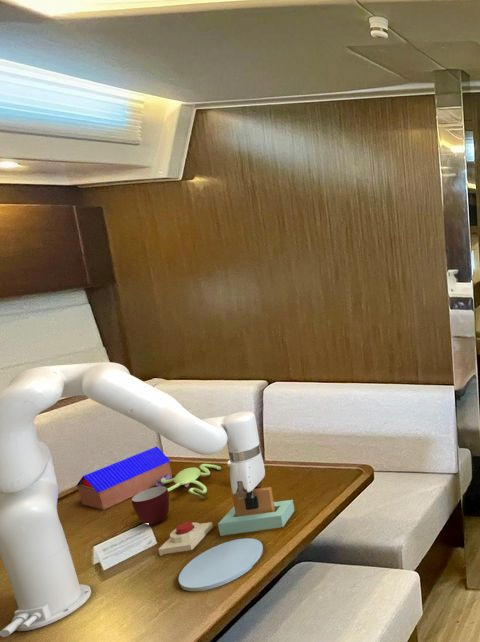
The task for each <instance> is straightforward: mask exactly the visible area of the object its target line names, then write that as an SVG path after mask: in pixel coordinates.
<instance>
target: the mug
mask: <svg viewBox="0 0 480 642" xmlns="http://www.w3.org/2000/svg"><path fill="white" fill-rule="evenodd" d="M167 488H168V487H167V486H165V485H164V486H159V487H158V486H153V487H151V488H149V489H147V490H144V491H142V492H140V493H138V494H136V495H134V496H132V497H131V504H132V508H133V510H134V512H135V513H136V515H137V517H138V519H139V520H140V521H141V522H142V523H143V524H145V523H149V527H153V526H156V525H159V524H162V523H163V522H164V521H165V520H166V518H167V516H168V513H169V510H170V493H169V492H168V489H167Z"/></svg>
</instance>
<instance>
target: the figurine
mask: <svg viewBox="0 0 480 642" xmlns="http://www.w3.org/2000/svg"><path fill="white" fill-rule="evenodd" d="M209 468H210V469H213V470H218V471H219V470H221V469H222V466H220V465H216V464H210V463H201V464H200V465H199V467H187V468H184V469H182V470H180V471H179V472H178V473H176V475H175V476H174V477H173V476H172V477H170V476H169V475H168V474H166V475H164V476H163V477H162V478H161V479H159V480H158V481H157V482H156V483H155V486H156V487H159V486H164V487H165V486H166V484H170V483H173V482H174V483H175V484H174V485H171V486H170V487H167V489H168V493H169V492H171V491H173V490H175V489H177V488H178V487H180V486H184V487H185V488H188V487H189V486H190V484H193V485H196V486H198V487H199V488H200V489H199V488H197V487H190V488H189V489H188V491H187V493H188V494H190V495H193V496H196V497H199V498H200V499H205V496H203V495H202V494H206V493H207V492H208V488H207V486H206V485H205V484H203V482H201V481H199V480H197V479H198V478H199V477H209V476H210V475H211V471H210V470H209ZM201 470H202V471H203V472H201ZM201 489H202V490H201Z"/></svg>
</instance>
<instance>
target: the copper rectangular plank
mask: <svg viewBox="0 0 480 642" xmlns="http://www.w3.org/2000/svg"><path fill="white" fill-rule="evenodd" d="M254 491H255V496H257V499H258V505H259V507H258V508H257V509H250V510H247V509H246V505H245V500H244V499H238V492H239V491H238V492H237V493H236V494H233V493H232V492H231V496H232V501H233V507H234V508H235V513H236V517H239V516H247V515H254V514H262V513H269V512H275V507H274V502H275V501H274V495H273V489H272V486H268V487H261V488H258V489H254ZM246 493H250V492H246Z"/></svg>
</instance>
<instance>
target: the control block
mask: <svg viewBox="0 0 480 642" xmlns="http://www.w3.org/2000/svg"><path fill="white" fill-rule="evenodd" d="M192 524H193V529H192V530H191V531H189V532H188V533H185V534H181V535H177V532H176V528H175V529H173V530H172V531H171V532H170V534H169V538H168V539H167V540H166V541H165V542H164V543H163V544H162V545H161V546H160V547H159V548H158V555H159V556H160V557H162V556H163V555H167V554H173V553H180V552H187V551H192V550H194V548H195V547H196V546H197V545H198V544H199V543H200V542H201V541H202V540H203V539H204V537H205V536H206V535H208V533H209V532H210V531H211V530H212V529H213V527H214V526H213V525H214V524H213V521H211V522H203V523H199V522H196V521H195V522H192Z"/></svg>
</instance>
